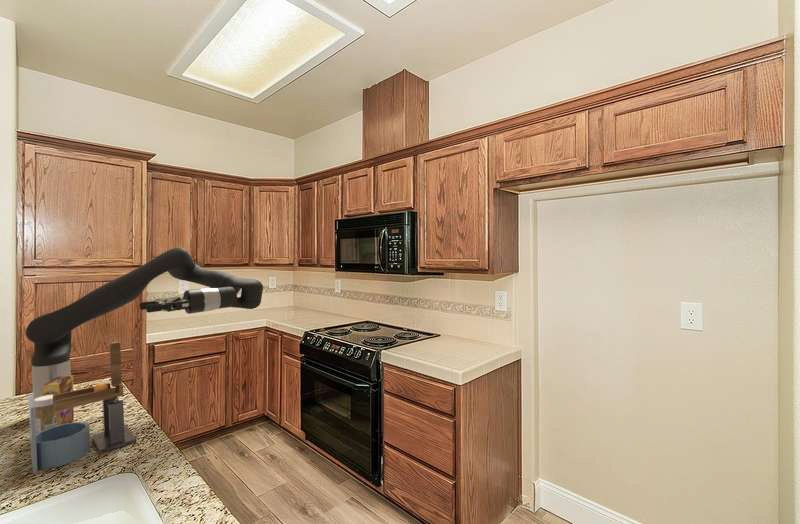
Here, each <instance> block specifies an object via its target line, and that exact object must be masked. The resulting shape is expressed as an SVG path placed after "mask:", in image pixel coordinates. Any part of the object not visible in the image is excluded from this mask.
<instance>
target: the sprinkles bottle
mask: <svg viewBox="0 0 800 524" xmlns="http://www.w3.org/2000/svg"><path fill="white" fill-rule="evenodd" d="M34 407H35V428H36V434H37V433H38V432H41V431H43V430H46V429H48V428H51V427H54V426H57V413H56V412H55V409H54V406H53V395H46V396H41V397H38V398H36V399H35V400H34Z"/></svg>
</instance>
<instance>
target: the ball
mask: <svg viewBox="0 0 800 524" xmlns="http://www.w3.org/2000/svg"><path fill="white" fill-rule="evenodd" d="M107 384H108V383H106V382H99V383H96V384H95V385H94V386H95V387H94V386H93V387H94V392H96V391H101V390H105V389H108V386H107Z"/></svg>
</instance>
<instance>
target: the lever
mask: <svg viewBox="0 0 800 524" xmlns="http://www.w3.org/2000/svg"><path fill="white" fill-rule="evenodd" d="M121 357H122V355H121V341H113V342H109V358H110V359H109V362H110V366H109V367H110V382H108V383H106V384H107V386H108V389H105V390H101V391H96V392H94V387H95V386H96V385H94V386H91V387H86V388H81V389H75V390H73V391H71V392H66V393H62V394H57V395H53V406H54V409H55V412H56V411H60V410H64V409H69V408H73V407H74V408H76V407H80V406H81V407H82V406H85V405H88V404H89V405H90V404H94V403H98V402H101V401H102V402H103V400H106V399H110V400H111V401H112V400H113V398H118V399H119V397H122V396H124V395H125V394H124V384H123V382H122V380H123V379H122V358H121ZM112 402H113V401H112Z"/></svg>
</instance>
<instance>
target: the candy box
mask: <svg viewBox="0 0 800 524" xmlns="http://www.w3.org/2000/svg"><path fill="white" fill-rule="evenodd" d="M42 388H43V396H46V395H57V394H62V393H66V392H71V391H74V375H73V374H71V375H66V376H59V377H56V378H55V379H53V380H51V381H50V382H48V383H46V384H45V385H43V386H42ZM74 408H75V407H73V408H69V409H64V410H60V411H56V413H57V426H58V425H62V424H66V423H73V422H75V420H74V418H75V416H74V410H75V409H74Z"/></svg>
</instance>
